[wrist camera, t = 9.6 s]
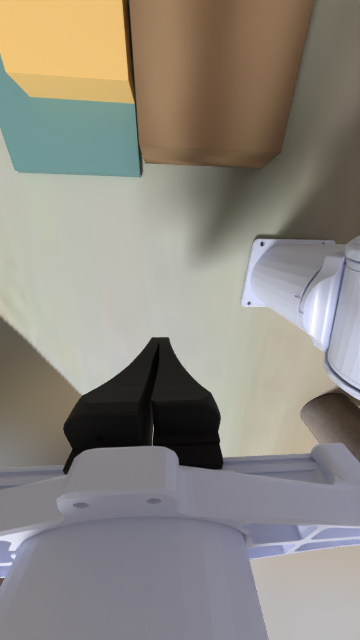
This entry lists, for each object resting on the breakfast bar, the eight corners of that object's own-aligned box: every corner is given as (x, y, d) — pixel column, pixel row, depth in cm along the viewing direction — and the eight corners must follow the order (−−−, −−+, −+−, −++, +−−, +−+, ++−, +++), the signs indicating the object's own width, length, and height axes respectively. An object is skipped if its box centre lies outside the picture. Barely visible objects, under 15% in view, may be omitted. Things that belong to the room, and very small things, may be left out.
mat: (117, -149, 9) (114, -170, 8) (140, 177, 15) (139, 174, 15) (-97, -179, 8) (-112, -203, 8) (19, 172, 14) (14, 170, 14)
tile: (125, -25, 10) (115, -82, 8) (134, 103, 13) (128, 80, 11) (-6, -39, 10) (-46, -101, 8) (29, 96, 12) (5, 72, 10)
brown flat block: (308, -88, 10) (360, -212, 7) (261, 168, 15) (280, 152, 12) (128, -111, 9) (111, -253, 7) (145, 163, 15) (139, 145, 12)
